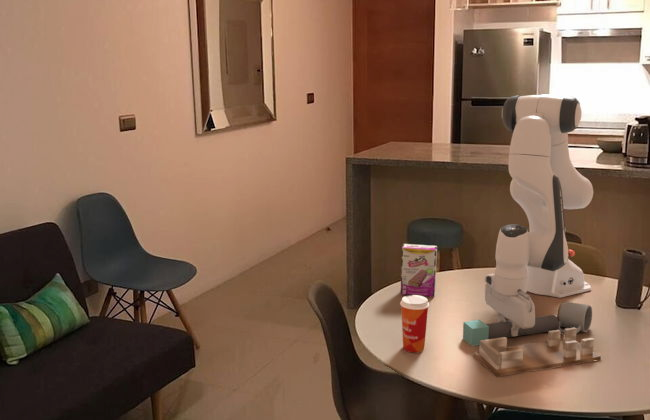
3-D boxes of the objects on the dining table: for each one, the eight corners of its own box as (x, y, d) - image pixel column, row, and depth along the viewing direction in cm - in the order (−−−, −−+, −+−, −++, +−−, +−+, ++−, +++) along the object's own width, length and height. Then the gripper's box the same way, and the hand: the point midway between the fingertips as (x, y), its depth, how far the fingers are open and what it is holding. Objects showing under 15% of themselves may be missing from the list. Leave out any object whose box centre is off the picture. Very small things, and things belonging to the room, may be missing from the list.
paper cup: (394, 345, 183) (394, 296, 180) (418, 340, 186) (419, 292, 183) (409, 356, 176) (410, 306, 173) (433, 351, 179) (435, 302, 176)
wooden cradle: (571, 341, 185) (572, 324, 183) (600, 359, 173) (602, 341, 172) (473, 355, 176) (474, 338, 175) (497, 376, 165) (498, 358, 164)
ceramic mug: (563, 320, 199) (565, 296, 197) (591, 327, 194) (593, 302, 192) (550, 332, 190) (552, 307, 189) (580, 340, 186) (582, 314, 184)
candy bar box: (400, 295, 219) (401, 247, 215) (401, 290, 224) (402, 243, 220) (434, 298, 217) (436, 249, 213) (435, 292, 222) (437, 244, 218)
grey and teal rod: (548, 326, 194) (549, 310, 193) (559, 333, 190) (560, 316, 189) (462, 338, 187) (463, 321, 186) (471, 346, 182) (472, 328, 181)
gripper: (542, 295, 175) (539, 344, 179) (501, 271, 195) (498, 316, 198) (521, 298, 174) (518, 348, 177) (481, 273, 193) (479, 318, 196)
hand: (507, 331), depth 188 cm, fingers closed on grey and teal rod, 4 cm apart
